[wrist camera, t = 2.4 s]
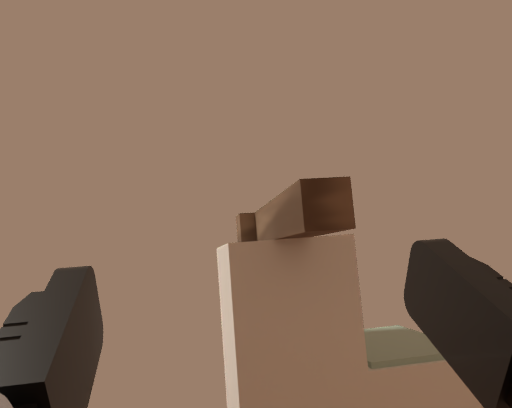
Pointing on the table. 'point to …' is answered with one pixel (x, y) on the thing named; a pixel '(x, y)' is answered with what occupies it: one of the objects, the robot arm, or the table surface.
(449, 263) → the robot arm
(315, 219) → the walnut T-handle
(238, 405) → the stepped stand
